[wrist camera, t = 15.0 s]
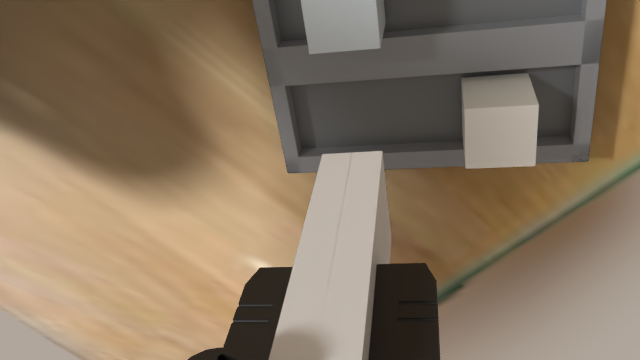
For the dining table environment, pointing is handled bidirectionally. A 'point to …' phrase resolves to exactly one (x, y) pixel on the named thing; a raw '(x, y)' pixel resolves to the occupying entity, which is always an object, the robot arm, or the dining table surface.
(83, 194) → the dining table surface
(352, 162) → the robot arm
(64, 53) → the dining table surface
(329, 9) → the pale grey cube
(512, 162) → the off-white cube
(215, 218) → the dining table surface
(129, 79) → the dining table surface
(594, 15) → the gray divided tray
